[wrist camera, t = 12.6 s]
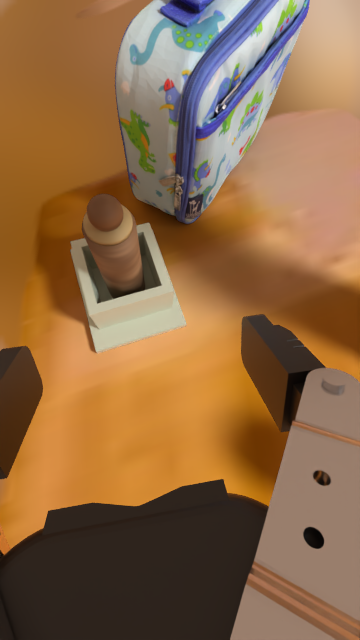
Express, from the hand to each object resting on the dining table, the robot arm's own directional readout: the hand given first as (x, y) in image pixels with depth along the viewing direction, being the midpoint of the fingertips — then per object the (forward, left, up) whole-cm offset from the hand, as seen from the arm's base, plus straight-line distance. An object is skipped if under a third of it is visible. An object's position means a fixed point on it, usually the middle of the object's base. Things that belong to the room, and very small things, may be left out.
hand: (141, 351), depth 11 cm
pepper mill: (-1, -13, -22) cm, 26 cm away
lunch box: (-17, -29, -23) cm, 41 cm away
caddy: (-1, -13, -23) cm, 26 cm away
